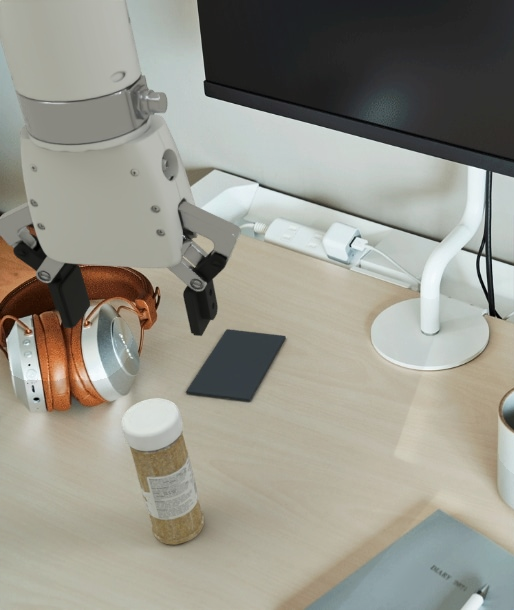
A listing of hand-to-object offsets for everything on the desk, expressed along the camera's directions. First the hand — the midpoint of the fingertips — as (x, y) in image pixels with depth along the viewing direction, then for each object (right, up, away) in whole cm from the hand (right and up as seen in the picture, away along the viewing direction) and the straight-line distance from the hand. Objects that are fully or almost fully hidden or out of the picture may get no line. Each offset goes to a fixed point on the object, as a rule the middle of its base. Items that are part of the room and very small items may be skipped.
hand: (140, 321), depth 69 cm
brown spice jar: (-1, -19, +13) cm, 23 cm away
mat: (-1, -5, +31) cm, 32 cm away
